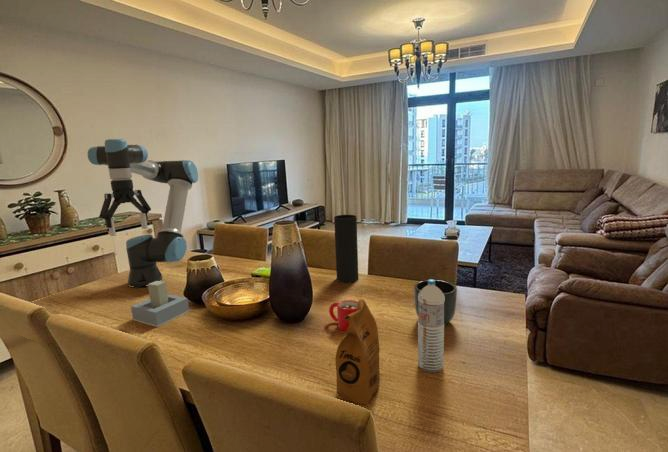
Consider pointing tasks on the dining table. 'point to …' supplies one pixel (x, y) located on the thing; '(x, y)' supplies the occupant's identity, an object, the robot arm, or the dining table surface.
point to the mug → (343, 312)
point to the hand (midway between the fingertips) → (129, 232)
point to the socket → (160, 311)
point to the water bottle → (431, 328)
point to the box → (158, 294)
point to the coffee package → (358, 357)
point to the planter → (449, 293)
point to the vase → (346, 248)
